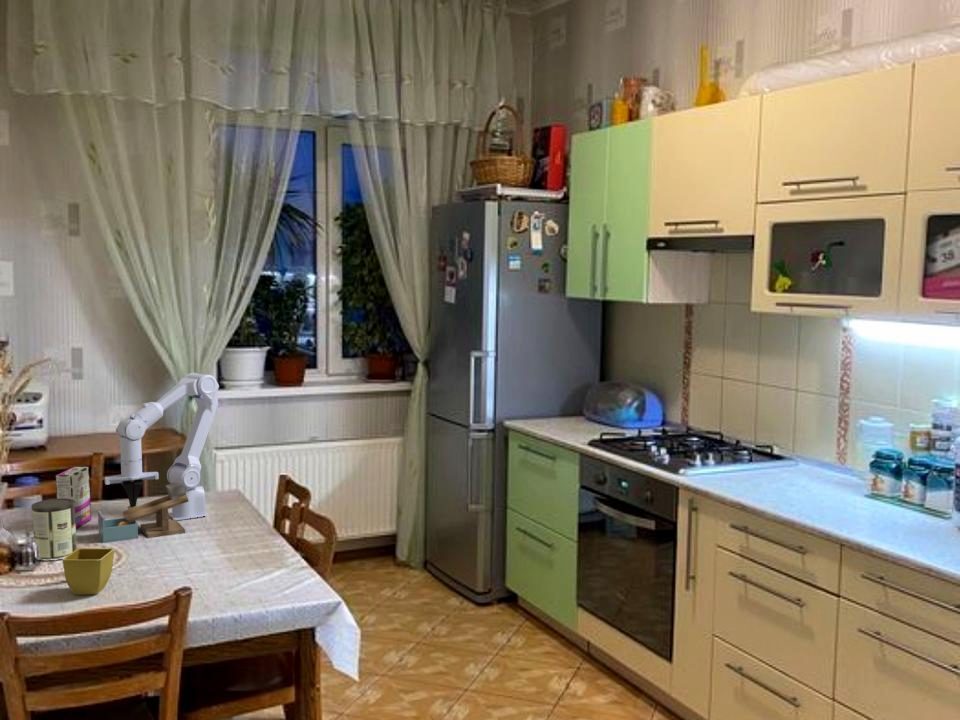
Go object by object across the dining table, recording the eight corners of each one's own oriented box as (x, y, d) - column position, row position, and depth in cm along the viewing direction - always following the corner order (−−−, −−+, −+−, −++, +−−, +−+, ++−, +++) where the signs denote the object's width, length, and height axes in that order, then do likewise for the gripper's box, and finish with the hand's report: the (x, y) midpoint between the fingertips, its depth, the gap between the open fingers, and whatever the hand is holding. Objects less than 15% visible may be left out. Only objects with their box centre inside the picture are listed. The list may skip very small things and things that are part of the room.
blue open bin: (132, 530, 257) (131, 506, 256) (138, 537, 249) (137, 513, 248) (98, 534, 252) (97, 510, 251) (103, 542, 244) (102, 517, 244)
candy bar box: (75, 520, 268) (73, 466, 266) (92, 520, 268) (89, 466, 266) (57, 530, 257) (54, 474, 255) (74, 530, 256) (72, 474, 255)
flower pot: (116, 584, 211) (115, 547, 210) (102, 597, 202) (100, 559, 201) (79, 585, 210) (77, 548, 210) (63, 598, 202) (61, 559, 201)
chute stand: (175, 522, 264) (174, 497, 264) (185, 532, 254) (184, 506, 253) (140, 527, 259) (139, 502, 259) (148, 537, 249) (147, 511, 248)
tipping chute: (179, 492, 267) (174, 476, 266) (188, 501, 257) (183, 484, 256) (121, 513, 259) (116, 497, 258) (128, 523, 249) (123, 506, 248)
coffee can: (53, 548, 240) (51, 496, 238) (85, 551, 237) (83, 499, 236) (24, 559, 230) (22, 506, 228) (57, 563, 227) (55, 509, 226)
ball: (120, 534, 252) (131, 527, 254) (123, 537, 250) (133, 529, 251) (113, 525, 251) (124, 517, 253) (115, 528, 248) (126, 520, 250)
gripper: (106, 464, 251) (108, 512, 252) (160, 459, 258) (161, 505, 259) (103, 460, 257) (104, 506, 258) (155, 455, 264) (156, 500, 265)
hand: (132, 505), depth 259 cm, fingers closed
